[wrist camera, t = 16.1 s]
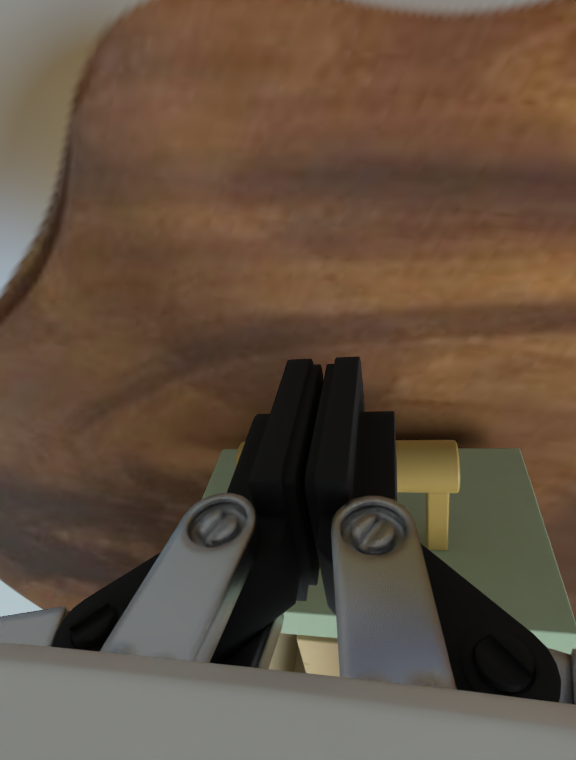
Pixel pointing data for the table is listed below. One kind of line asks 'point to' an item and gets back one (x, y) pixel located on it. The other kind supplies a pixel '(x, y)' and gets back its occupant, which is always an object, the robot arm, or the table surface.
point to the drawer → (455, 539)
